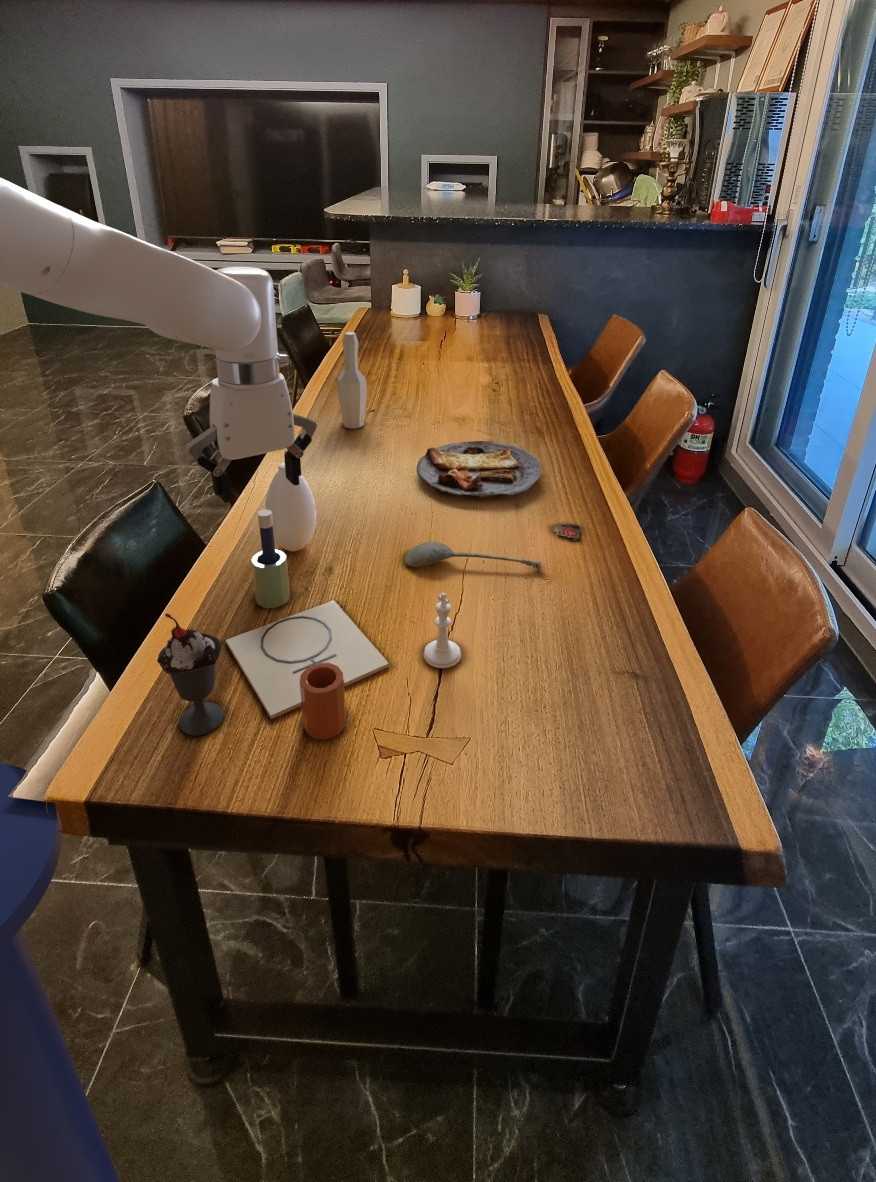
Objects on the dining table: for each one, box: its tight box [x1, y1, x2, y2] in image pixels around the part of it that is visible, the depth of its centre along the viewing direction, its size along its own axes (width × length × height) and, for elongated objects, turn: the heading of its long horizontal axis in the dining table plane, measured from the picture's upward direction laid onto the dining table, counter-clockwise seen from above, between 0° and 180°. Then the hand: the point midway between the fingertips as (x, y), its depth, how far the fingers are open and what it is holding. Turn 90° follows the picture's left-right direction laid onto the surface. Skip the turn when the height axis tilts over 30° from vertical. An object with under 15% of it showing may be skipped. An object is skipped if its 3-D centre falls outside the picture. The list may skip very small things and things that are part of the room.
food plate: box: [416, 440, 542, 499], centre depth 140 cm, size 25×23×4 cm
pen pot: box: [300, 663, 347, 740], centre depth 80 cm, size 5×5×7 cm
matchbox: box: [552, 523, 581, 542], centre depth 121 cm, size 5×5×1 cm
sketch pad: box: [225, 599, 390, 720], centre depth 91 cm, size 16×16×1 cm
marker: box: [257, 509, 276, 565], centre depth 99 cm, size 2×2×14 cm
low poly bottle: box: [336, 331, 368, 430], centre depth 158 cm, size 6×6×22 cm
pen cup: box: [250, 548, 291, 609], centre depth 101 cm, size 5×5×7 cm
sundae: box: [156, 612, 225, 736], centre depth 78 cm, size 7×7×15 cm
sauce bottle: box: [264, 448, 317, 552], centre depth 111 cm, size 8×8×18 cm
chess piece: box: [423, 592, 462, 669], centre depth 90 cm, size 5×5×10 cm
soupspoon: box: [404, 541, 542, 572], centre depth 111 cm, size 22×3×7 cm
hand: (259, 489), depth 94 cm, fingers open, 9 cm apart
